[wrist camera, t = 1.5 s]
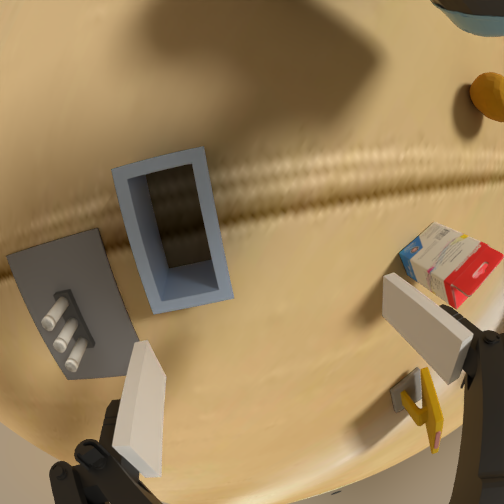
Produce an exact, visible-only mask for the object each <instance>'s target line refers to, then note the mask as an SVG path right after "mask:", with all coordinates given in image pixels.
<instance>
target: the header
mask: <svg viewBox="0 0 504 504" xmlns="http://www.w3.org/2000/svg"><path fill="white" fill-rule="evenodd" d="M6 257H7V260H8V263H9V265H10V268H11V271H12V273H13V276H14V278H15V281H16V283H17V286H18V288H19V290H20V293H21V295H22V297H23V300H24V302H25V304H26V306H27V308H28V310H29V313H30V315H31V317H32V319H33V321H34V323H35V325H36V327H37V329H38V330H39V332H40V334H41V336H42V338H43V340H44V342H45V343H46V345H47V347H48V349H49V350H50V352H51V354H52V356H53V357H54V359H55V361H56V362H57V364H58V366H59V367H60V369H61V370H62V372H63V373H64V375H65V377H66V378H67V380H77V379H92V378H105V377H116V376H125V375H127V371H128V367H129V363H130V359H131V355H132V351H133V347H134V343H135V342H139V339H138V337H137V334H136V332H135V330H134V327H133V325H132V323H131V320H130V318H129V315H128V313H127V310H126V308H125V305H124V303H123V300H122V298H121V295H120V292H119V290H118V287H117V284H116V282H115V279H114V276H113V273H112V270H111V267H110V264H109V261H108V258H107V255H106V252H105V249H104V246H103V243H102V239H101V236H100V233H99V229H98V228H96V229H92V230H88V231H85V232H81V233H78V234H74V235H71V236H67V237H64V238H61V239H57V240H54V241H51V242H47V243H44V244H41V245H38V246H35V247H32V248H29V249H25V250H22V251H19V252H16V253H13V254H10V255H8V256H6Z"/></svg>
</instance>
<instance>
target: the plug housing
mask: <svg viewBox="0 0 504 504" xmlns="http://www.w3.org/2000/svg"><path fill="white" fill-rule="evenodd" d="M191 163H192V166H193V171H194V177H195V182H196V187H197V192H198V197H199V202H200V206H201V211H202V216H203V221H204V225H205V230H206V235H207V239H208V244H209V248H210V253H211V257H212V259H211V260H207V261H202V262H197V263H193V264H188V265H183V266H178V267H174V268H169V267H168V263H167V260H166V256H165V253H164V249H163V245H162V241H161V238H160V234H159V230H158V226H157V222H156V218H155V214H154V210H153V206H152V201H151V197H150V193H149V188H148V184H147V179H146V174H149V173H152V172H157V171H161V170H165V169H169V168H173V167H178V166H182V165H187V164H191ZM111 170H112V175H113V180H114V184H115V189H116V193H117V197H118V201H119V205H120V209H121V213H122V217H123V221H124V224H125V228H126V232H127V235H128V239H129V242H130V246H131V249H132V252H133V256H134V259H135V262H136V265H137V268H138V271H139V275H140V278H141V281H142V284H143V286H144V289H145V292H146V295H147V298H148V301H149V304H150V306H151V309H152V312H153V315H154V314H159V313H164V312H170V311H175V310H180V309H185V308H190V307H195V306H200V305H205V304H210V303H215V302H219V301H224V300H229V299H233V298H234V295H233V290H232V286H231V281H230V276H229V272H228V267H227V262H226V257H225V253H224V248H223V243H222V238H221V233H220V228H219V223H218V218H217V213H216V208H215V203H214V198H213V193H212V187H211V182H210V177H209V171H208V166H207V161H206V155H205V150H204V146H202V147H197V148H192V149H188V150H183V151H179V152H174V153H170V154H166V155H162V156H158V157H154V158H150V159H146V160H142V161H138V162H135V163H131V164H127V165H124V166H120V167H117V168H114V169H111Z"/></svg>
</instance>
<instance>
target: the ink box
mask: <svg viewBox="0 0 504 504" xmlns="http://www.w3.org/2000/svg"><path fill="white" fill-rule="evenodd" d="M399 255H400V257H401V260H402V262H403V265H404V267H405V270H406V272H407V275H408V276H410V277H411V278H412V279H414V280H415V281H417V282H418V283H420V284H421V285H423V286H424V287H425V288H427V289H428V290H430V291H431V292H433V293H434V294H435V295H437V296H438V297H440V298H441V299H442V300H444V301H445V302H447V303H448V304H449V305H451V306H452V307H453V308H455V309H457V308H458V307H459V306H460V305H461V304H462V303H463V302H464V301H465V300H466V299H467V298H468V297H470V296H471V295H472V294H473V293H474V292H475V291H476V290H477V289H478V287H479V286H480V285H481V284H482V283H483V282H484V281H485V280H486V279H487V277H488V276H489V275H490V274H491V273H492V272H493V270H494V269H495V268H496V266H497V265H498V264H499V263H500V262H501V260H502V259H503V258H504V255H503V254H502V253H500V252H498V251H496V250H494V249H492V248H491V247H489V245H488V244H485V243H483V242H481V241H479V240H476V239H474V238H472V237H470V236H467V235H465V234H463V233H460V232H458V231H456V230H453V229H451V228H449V227H446V226H444V225H441V224H439V223H436V222H433V223H432V224H431V225H430V226H429V227H428V228H427V229H426V230H424V231H423V232H422V233H421V234H420V235H419V236H418V237H417V238H415V239H414V240H413V241H412V242H411V243H410V244H409V245H407V246H406V247H405V248H404V249H403V250H402V251H400V252H399Z"/></svg>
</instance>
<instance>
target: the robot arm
mask: <svg viewBox="0 0 504 504" xmlns="http://www.w3.org/2000/svg"><path fill="white" fill-rule="evenodd" d="M430 1H431V2H432V3H433V4H434V6H436V7H437V8H439V9H440V10H441V11H442V12H443V13H444V14H445V15H446V16H447V17H448V18H449V19H450V20H451V21H452V22H453V23H454V24H455V25H456V26H457V27H459V28H460V29H462V30H463V31H466V32H468V33H472V34H474V35H478V36H484V37H500V36H504V0H430ZM382 316H383V317H384V318H385V319H386V320H387V321H388V322H389V323H390V324H391V325H392V326H393V327H394V328H395V329H396V330H397V331H398V332H399V333H400V335H401V336H402V337H403V338H404V339H405V340H406V341H407V342H408V343H409V344H410V345H411V346H412V347H413V348H414V349H415V350H416V351H417V352H418V353H419V354H420V355H421V356H422V357H423V359H424V360H425V361H426V362H427V363H428V364H429V365H430V366H431V367H432V368H433V369H434V370H435V371H436V373H437V374H438V375H439V376H440V377H441V378H442V379H443V380H444V381H445V382H446V383H447V385H449V384H450V383H452V382H453V381H455V380H456V379H458V378H459V376H460V374H461V371H462V369H463V370H464V371H465V372H466V374H465V377H464V379H463V382H462V384H461V388H463V386H464V384H465V390H464V415H463V428H462V439H461V446H460V454H459V461H458V466H457V473H456V478H455V482H454V487H453V492H452V496H451V500H450V502H449V504H504V333H502V334H498V333H496V332H494V331H490V330H487V331H483V332H482V331H481V330H480V329H478V328H477V327H476V326H475V325H473V324H472V323H471V322H470V321H468V320H467V319H466V318H463V316H462V315H461V314H458V312H457V311H455V310H454V309H453V308H451V307H449V306H446V305H443V304H442V305H440V306H438V305H437V304H436V303H434V302H433V301H432V300H431V299H429V298H428V297H427V296H425V295H424V294H423V293H421V292H420V291H419V290H417V289H416V288H415V287H413V286H412V285H411V284H409V283H408V282H407V281H405V280H404V279H403V278H401V277H400V276H398V275H397V274H396V273H394V272H393V273H390V274H387V275H384V276H383V305H382ZM165 388H166V375H165V373H164V371H163V369H162V367H161V365H160V363H159V361H158V360H157V358H156V356H155V354H154V352H153V350H152V348H151V346H150V344H149V341H148V340H144V341H139V342H135V343H134V347H133V351H132V355H131V359H130V363H129V367H128V371H127V375H126V379H125V383H124V388H123V392H122V397H121V399H119V400H112V401H111V403H110V404H109V406H108V407H107V409H106V413H105V419H104V422H103V426H102V431H101V435H100V440H99V442H98V441H96V440H93V439H86V440H84V441H82V442H81V443H80V444H79V445H77V447H76V449H75V453H74V456H75V459H76V461H78V462H79V463H80V465H76V466H71V465H69V464H68V463H67V462H64V461H60V462H57V463H55V464H54V465H53V466H52V467H51V469H50V473H49V477H50V482H51V487H52V492H53V496H54V500H55V504H162V503H161V502H160V501H159V500H158V499H157V498H156V497H155V495H154V494H153V493H152V492H151V491H150V490H149V489H148V488H147V487H146V486H145V485H144V484H143V483H142V482H141V481H140V480H139V472H140V473H141V474H142V475H143V476H144V477H145V478H146V477H162V437H163V417H164V401H165ZM109 502H110V503H109Z"/></svg>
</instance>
